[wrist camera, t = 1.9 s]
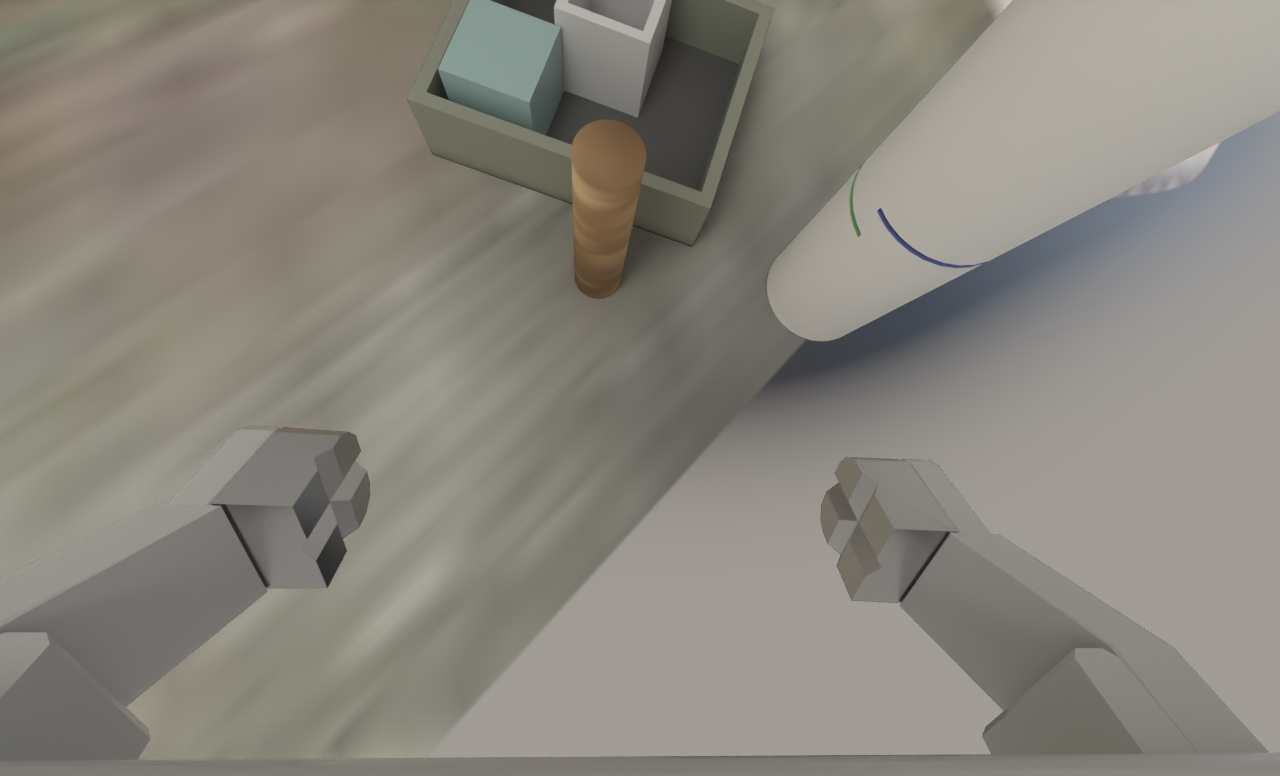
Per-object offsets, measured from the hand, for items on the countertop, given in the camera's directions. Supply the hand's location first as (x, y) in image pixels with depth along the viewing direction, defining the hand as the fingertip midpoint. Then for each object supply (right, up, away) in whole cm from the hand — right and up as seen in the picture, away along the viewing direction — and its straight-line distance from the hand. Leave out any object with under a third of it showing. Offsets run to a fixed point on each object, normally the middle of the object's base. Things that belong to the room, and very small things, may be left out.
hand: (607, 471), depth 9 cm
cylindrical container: (+13, +8, +26) cm, 30 cm away
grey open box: (-2, +21, +26) cm, 33 cm away
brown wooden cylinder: (-2, +9, +24) cm, 26 cm away
